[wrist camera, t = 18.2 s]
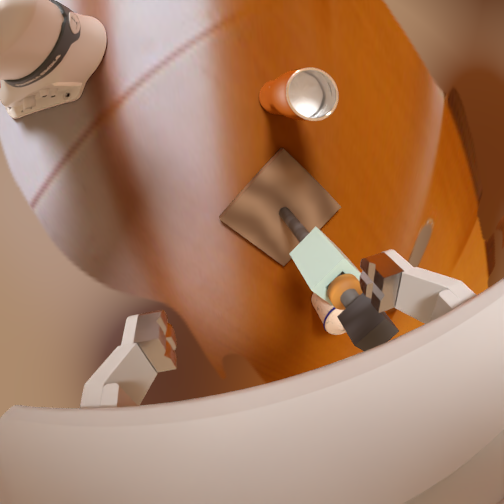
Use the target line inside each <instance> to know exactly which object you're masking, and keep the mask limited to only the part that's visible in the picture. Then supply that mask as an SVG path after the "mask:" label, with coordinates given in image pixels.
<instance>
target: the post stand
mask: <svg viewBox="0 0 504 504" xmlns="http://www.w3.org/2000/svg"><path fill="white" fill-rule="evenodd" d="M340 208H341V206H340V205H339V204H338V203H337V202H336V201H335V200H334V199H333V198H332V197H331V195H330V194H329V193H328V192H327V191H326V190H325V189H324V188H323V187H322V186H321V185H320V184H319V183H318V182H317V181H316V180H315V179H314V178H313V177H312V176H311V175H310V174H309V173H308V172H307V171H306V170H305V169H304V168H303V167H302V166H301V165H300V164H299V163H298V162H297V161H296V160H295V159H294V158H293V157H292V156H291V155H290V154H289V153H288V152H287V151H286V150H285V149H283V148H280V149H279V150H278V151H277V153H276V154H275V155H274V156H273V157H272V158H271V159H270V160H269V161H268V162H267V163H266V164H265V165H264V167H263V168H262V169H261V170H260V171H259V172H258V173H257V174H256V175H255V176H254V178H253V179H252V180H251V181H250V182H249V183H248V184H247V185H246V186H245V188H244V189H243V190H242V191H241V192H240V193H239V194H238V195H237V197H236V198H235V199H234V200H233V201H232V202H231V203H230V205H229V206H228V207H227V208H226V209H225V210H224V212H223V213H222V214H221V215H220V216H219V218H220V220H221V221H222V222H224V223H225V224H227V225H228V226H229V227H231V228H232V229H233V230H235V231H236V232H238V233H239V234H240V235H242V236H243V237H244V238H246V239H247V240H248V241H250V242H251V243H253V244H254V245H255V246H257V247H258V248H259V249H261V250H262V251H264V252H265V253H266V254H268V255H269V256H270V257H272V258H273V259H274V260H276V261H277V262H279V263H280V264H281V265H283V266H285V265H286V264H287V263H288V262H289V261H290V260H291V259H292V258H291V256H290V254H289V253H290V252H291V251H292V250H293V249H294V248H295V247H296V246H297V245H298V244H299V243H300V242H301V241H302V240H303V239H304V238H305V237H306V236H307V235H308V234H309V233H310V232H311V231H312V230H313V229H314V228H315V227H317V228H318V229H319V230H320V229H321V228H322V227H323V226H324V224H325V223H326V222H327V221H328V220H329V219H330V218H331V217H332V216H333V215H334V214H335V213H336V212H337V211H338V210H339V209H340ZM327 296H328V298H329V299H330V301H331V303H332V304H333V306H334V307H335V308H336V309H339V310H344V311H342V312H341V313H340V314H339V315H338V316H337V317H338V319H339V321H340V322H341V324H342V326H343V327H344V329H345V330H346V332H347V334H348V335H349V337H350V339H351V340H352V342H353V344H354V345H355V346H356V347H358V348H360V349H361V350H363V351H367V350H369V349H372V348H374V347H376V346H379V345H381V344H384V343H386V342H388V341H389V340H390V339H391V338H392V337H393V336H394V335H395V334H396V333H398V332H399V330H398V329H397V328H396V326H395V325H394V324H393V322H392V321H391V320H390V318H389V317H388V316H387V315H386V313H385V312H384V311H383V312H380V313H378V312H377V310H376V309H375V308H374V306H373V305H372V304H371V298H368V297H366V296H365V295H364V294H363V292H362V290H361V287H360V283H359V280H358V279H357V278H356V277H355V276H354V275H353V274H343V273H342V272H341V273H340V274H339V275H338V276H337V277H336V278H335V279H334V280H333V281H332V282H331V283H330V284H329V287H328V290H327Z"/></svg>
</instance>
